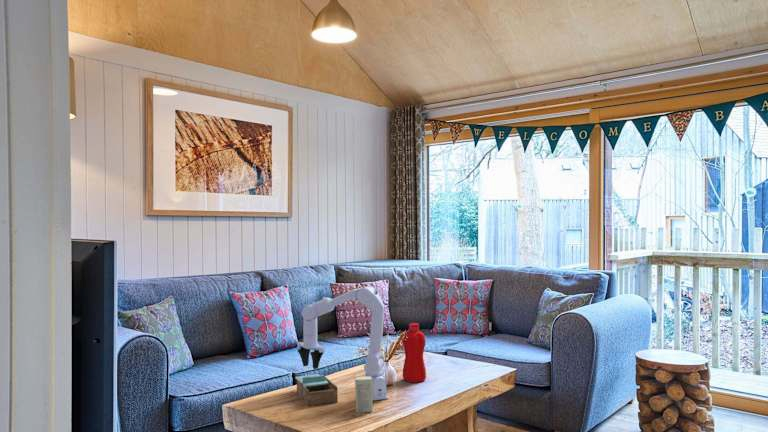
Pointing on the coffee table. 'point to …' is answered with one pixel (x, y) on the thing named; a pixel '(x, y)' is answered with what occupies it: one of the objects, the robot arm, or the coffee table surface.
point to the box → (318, 393)
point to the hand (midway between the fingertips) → (310, 367)
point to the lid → (312, 380)
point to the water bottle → (414, 354)
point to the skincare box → (363, 394)
